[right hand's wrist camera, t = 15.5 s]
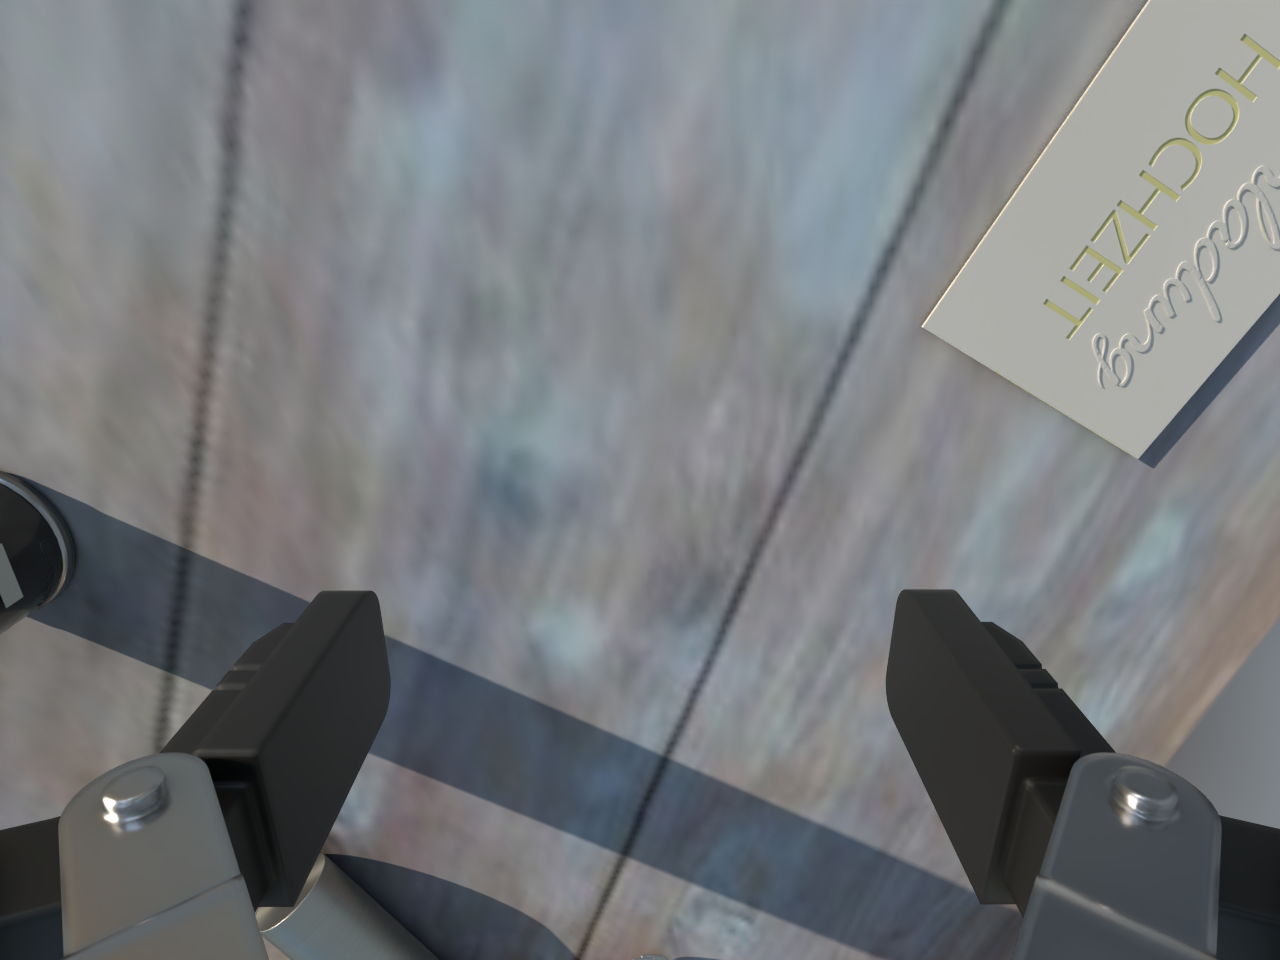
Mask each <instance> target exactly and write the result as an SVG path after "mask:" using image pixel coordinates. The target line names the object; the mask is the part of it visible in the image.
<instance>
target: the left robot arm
mask: <svg viewBox="0 0 1280 960" xmlns="http://www.w3.org/2000/svg"><path fill="white" fill-rule="evenodd" d="M74 568H75V548H74V544H73V540H72V537H71V534H70V532H69V530H68V527H67V526H66V524H65V522H64V520H63V519H62V517H61V516H60V514H59V513H58V512H57V510H56V509H55V508H54V507H53V505H52V504H51V503H50V502H49V501H48V500H47V499H46V498H45V497H44V496H42V495H41V494H40V493H39V492H38V491H36V490H35V489H34V488H33V487H31V486H30V485H28V484H27V483H25V482H23V481H22V480H20V479H18V478H16V477H14V476H12V475H10V474H8V473H5V472H3V471H0V634H1V633H3V632H4V631H6V630H7V629H9V628H10V627H12V626H13V625H14V624H16V623H17V622H19V621H20V620H22V619H23V618H24V617H26V616H27V615H29V614H30V613H32V612H34V611H36V610H38V609H40V608H42V607H43V606H45V605H46V604H48V603H49V602H50V601H52V600H53V599H55V598H56V597H57V596H59V595H60V594H61V593H62V592H63V591H64V590H65V588H66V587H67V586H68V584H69V582H70V580H71V578H72V576H73V572H74Z"/></svg>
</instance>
